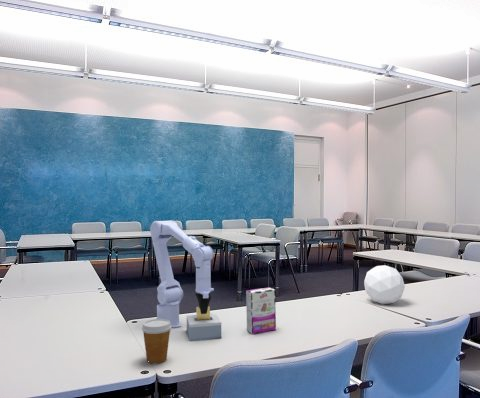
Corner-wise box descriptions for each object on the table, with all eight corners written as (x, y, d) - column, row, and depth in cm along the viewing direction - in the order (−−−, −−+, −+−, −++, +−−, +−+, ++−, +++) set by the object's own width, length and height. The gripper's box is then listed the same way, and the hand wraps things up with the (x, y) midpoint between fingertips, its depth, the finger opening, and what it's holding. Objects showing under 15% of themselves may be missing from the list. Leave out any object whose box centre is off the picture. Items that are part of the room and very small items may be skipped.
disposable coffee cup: (144, 354, 129) (144, 319, 129) (172, 353, 130) (172, 318, 130) (139, 366, 120) (139, 327, 120) (170, 365, 121) (170, 326, 121)
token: (197, 321, 148) (196, 308, 148) (196, 319, 150) (196, 306, 150) (209, 320, 149) (209, 307, 149) (209, 318, 151) (209, 305, 151)
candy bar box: (269, 326, 158) (269, 286, 159) (276, 330, 154) (276, 289, 154) (245, 331, 153) (245, 289, 153) (251, 334, 149) (251, 292, 149)
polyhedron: (391, 314, 198) (415, 284, 198) (383, 309, 183) (409, 275, 182) (361, 291, 210) (384, 262, 210) (351, 284, 194) (375, 253, 194)
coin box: (189, 340, 142) (189, 324, 142) (186, 330, 154) (186, 315, 154) (221, 338, 145) (221, 322, 145) (216, 328, 157) (216, 313, 157)
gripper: (216, 280, 144) (216, 317, 143) (210, 274, 158) (210, 307, 158) (197, 281, 142) (197, 318, 142) (193, 274, 156) (193, 308, 156)
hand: (203, 312), depth 150 cm, fingers closed on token, 2 cm apart
